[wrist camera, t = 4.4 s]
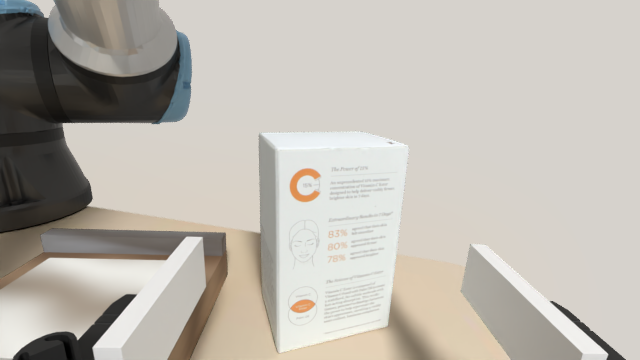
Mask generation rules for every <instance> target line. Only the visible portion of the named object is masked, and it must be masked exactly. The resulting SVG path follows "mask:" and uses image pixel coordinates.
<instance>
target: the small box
mask: <svg viewBox="0 0 640 360" xmlns="http://www.w3.org/2000/svg"><path fill="white" fill-rule="evenodd" d="M408 154H409V146H407V145H405V144H402V143H400V142H397V141H394V140H391V139H387V138H384V137H381V136H377V135H373V134H369V133H365V132H289V133H288V132H285V133H284V132H282V133H280V132H279V133H259V176H260V224H261V225H260V226H261V270H262V295H263V298H264V302H265V306H266V310H267V313H268V317H269V321H270V325H271V329H272V333H273V337H274V340H275V344H276V348H277V351H278V353H283V352H287V351H291V350H294V349H298V348H302V347H306V346H310V345H315V344H319V343H323V342H327V341H331V340H335V339H339V338H343V337H347V336H351V335H355V334H359V333H363V332H367V331H371V330H375V329H379V328H384V327H387V326H388V321H389V313H390V305H391V296H392V288H393V280H394V272H395V264H396V255H397V245H398V237H399V229H400V220H401V212H402V204H403V195H404V187H405V179H406V170H407V161H408Z"/></svg>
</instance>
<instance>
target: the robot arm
mask: <svg viewBox="0 0 640 360" xmlns="http://www.w3.org/2000/svg"><path fill="white" fill-rule="evenodd" d="M54 2H55V4H56V5H55V6H54V7H53V9H52V10H51V13H50V15H49V18H44V14H43V13H42V12H41V11H40V9H39V8H38V6H37V5H35V4H34V3H32V2H29V1H26V0H0V232H2V231H8V230H14V229H19V228H24V227H29V226H33V225H37V224H41V223H45V222H49V221H52V220H55V219H59V218H61V217H64V216H67V215H70V214H72V213H74V212H77V211H79V210H81V209H82V208H84V207H86V206H87V205H88V204H89V203H90V202H91V201H92V192H91V186H90V183H89V181H88V179H86V177H85V176H84V175H83V172H82V171H81V169H80V167H79V165H78V163H77V162H76V160H75V158H74V157H73V155H72V153H71V152H70V150H69V148H68V147H67V145H66V141H65V137H64V132H63V127H62V123H152V124H160V123H161V122H177V121H180V120H182V119H183V118H184V117H185V116H186V114H187V111H188V108H189V103H190V96H191V86H190V83H191V76H192V65H191V51H190V44H189V40H188V38H187V36H186V35H185V34H183V33H181V32H178V31H177V30H176V29H175V27H174V25H173V22H172V20H171V19H170V18H169V16H168V15H167V14H166V13H165V12H164V11H163V10H162V9H161V8H160V7H159V0H54ZM205 288H206V278H205V264H204V249H203V237H186V238H185V239H184V240H183V241H182V242H181V244H180V245H179V246H178V247H177V248H176V250H175V251H174V252H173V253H172V254H171V255H170V257H169V258H168V259H167V260H166V261H165V263H164V264H163V265H162V266H161V267H160V268H159V270H158V271H157V272H156V273H155V274H154V276H153V277H152V278H151V279H150V280H149V281H148V283H147V284H146V285H145V286H144V287H143V289H142V290H141V291H140V292H139V293H138V294H126V295H124V296H122V297H121V298H119V299H118V300H116V301H115V302H113V303H112V304H111V305H110V306H109V307H108V308H107V309H106V310H105V311H104V313H103V315H102V316H100V317H99V318H98V319H97V320H96V321H95V323H94V324H92V325H91V326H90V328H89V329H88V330H87V331H86V332H85V333H84V334H83V335H82V336H81V337H80V338H79V339H78V340H77V337H76V336H75V335H74V333H71V332H67V331H64V332H55V333H51V334H47V335H44V336H42V337H40V338H37V339H35V340H33V341H31V342H30V343H28V344H27V345H25V346H24V347H22V348H21V349H20V350H19V351H18V352H17V353H16V354H15V355H14V357H13V359H12V360H167V359H168V357H169V355H170V353H171V351H172V350H173V348H174V346H175V344H176V342H177V340H178V338H179V336H180V335H181V333H182V331H183V329H184V327H185V325H186V323H187V321H188V319H189V318H190V316H191V314H192V312H193V310H194V308H195V306H196V304H197V303H198V301H199V299H200V297H201V295H202V293H203V291H204V289H205ZM461 293H462V294H463V295H464V297H465V298H466V299H467V301H468V302H469V303H470V305H471V306H472V307H473V309H474V310H475V312H476V313H477V314H478V316H479V317H480V318H481V320H482V321H483V322H484V324H485V325H486V326H487V328H488V329H489V330H490V332H491V333H492V335H493V336H494V337H495V339H496V340H497V341H498V343H499V344H500V345H501V347H502V348H503V349H504V351H505V352H506V353H507V355H508V356H509V358H510V359H511V360H626V359H624V358H623V357H622V356H621V355H620V354H619V353H617V352H616V351H615V350H614V349H613V348H611V347H610V346H609V345H608V344H607V343H606V342H605V341H603V340H602V339H601V338H600V337H599V336H598V335H596V334H595V333H594V332H593V331H590V329H589V328H588V327H587V326H586V325H585V324H584V323H582V322H580V320H579V319H578V318H577V317H576V316H574V315H573V314H572V313H571V312H570V311H568V310H567V309H565V308H564V307H562V306H560V305H558V304H557V303H555V302H553V301H548V300H547V299H546V298H545V297H544V296H543V295H541V294H540V293H539V292H538V291H537V290H536V289H535V288H534V287H532V286H531V285H530V284H529V283H528V282H527V281H526V280H525V279H523V278H522V277H521V276H520V275H519V274H518V273H517V272H516V271H515V270H513V269H512V268H511V267H510V266H509V265H508V264H507V263H506V262H504V261H503V260H502V259H501V258H500V257H499V256H498V255H497V254H495V253H494V252H493V251H492V250H491V249H490V248H489V247H487V245H485V244H470V248H469V253H468V258H467V263H466V268H465V273H464V278H463V283H462V288H461Z"/></svg>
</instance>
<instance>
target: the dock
mask: <svg viewBox="0 0 640 360" xmlns="http://www.w3.org/2000/svg"><path fill="white" fill-rule="evenodd" d="M40 236H41V241H42V245H43V249H44V253H42V254H40V255H39V256H37V257H35V258H34V259H32V260H31V261H29V262H27V263H26V264H24V265H22V266H21V267H19V268H17V269H16V270H14V271H13V272H11V273H9V274H8V275H6V276H4V277H3V278H1V279H0V360H12V359H13V357H14V355H15V354H16V353H17V352H18V351H19V350H20V349H21V348H22V347H24V346H25V345H27V344H28V343H30V342H31V341H33V340H35V339H37V338H40V337H42V336H44V335H47V334H51V333H55V332H64V331H67V332H71V333H74V335H75V336H76V337H77V340H78V339H79V338H80V337H81V336H82V335H83V334H84V333H85V332H86V331H87V330H88V329H89V328H90V326H91V325H92V324H94V323H95V321H96V320H97V319H98V318H99V317H100V316H102V315H103V313H104V311H105V310H106V309H107V308H108V307H109V306H110V305H111V304H112V303H113V302H115V301H116V300H118V299H119V298H121V297H122V296H124V295H126V294H138V293H139V292H140V291H141V290H142V289H143V287H144V286H145V285H146V284H147V283H148V281H149V280H150V279H151V278H152V277H153V276H154V274H155V273H156V272H157V271H158V270H159V268H160V267H161V266H162V265H163V264H164V263H165V261H166V260H167V259H168V258H169V257H170V255H171V254H172V253H173V252H174V251H175V250H176V248H177V247H178V246H179V245H180V244H181V242H182V241H183V240H184V239H185V238H186V237H203V249H204V264H205V278H206V288H205V289H204V291H203V293H202V295H201V297H200V299H199V301H198V303H197V304H196V306H195V308H194V310H193V312H192V314H191V316H190V318H189V319H188V321H187V323H186V325H185V327H184V329H183V331H182V333H181V335H180V336H179V338H178V340H177V342H176V344H175V346H174V348H173V350H172V351H171V353H170V355H169V357H168V359H167V360H189V359H190V357H191V355H192V353H193V350H194V348H195V346H196V344H197V341H198V339H199V337H200V335H201V333H202V330H203V328H204V326H205V324H206V321H207V319H208V317H209V315H210V312H211V310H212V308H213V306H214V303H215V301H216V299H217V297H218V295H219V292H220V290H221V288H222V286H223V283H224V281H225V279H226V277H227V254H226V233H216V232H176V231H136V230H97V229H57V228H52V229H50V230H49V231H47V232H45V233H43V234H41V235H40Z"/></svg>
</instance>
